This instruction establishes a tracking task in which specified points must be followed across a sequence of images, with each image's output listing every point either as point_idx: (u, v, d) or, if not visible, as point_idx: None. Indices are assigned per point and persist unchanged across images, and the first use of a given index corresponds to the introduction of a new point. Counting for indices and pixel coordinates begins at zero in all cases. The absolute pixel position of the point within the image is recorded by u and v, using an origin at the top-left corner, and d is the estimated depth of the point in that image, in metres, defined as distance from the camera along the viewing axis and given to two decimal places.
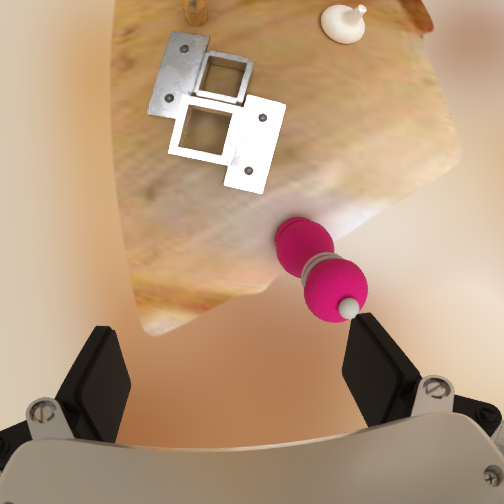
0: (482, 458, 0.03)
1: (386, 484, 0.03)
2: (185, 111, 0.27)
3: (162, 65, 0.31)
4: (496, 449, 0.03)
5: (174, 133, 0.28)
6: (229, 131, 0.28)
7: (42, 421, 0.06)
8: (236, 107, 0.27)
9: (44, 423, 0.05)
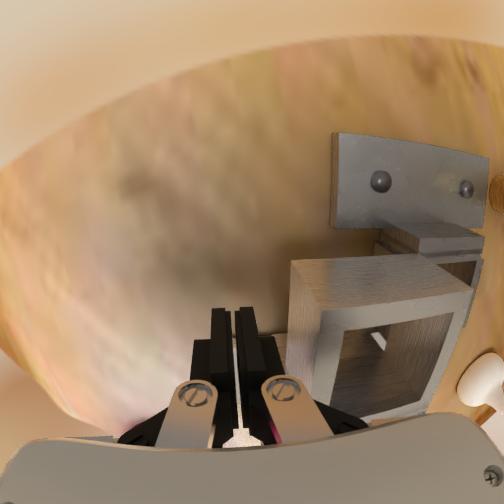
0: (482, 458, 0.03)
1: (386, 484, 0.03)
2: (438, 312, 0.09)
3: (439, 150, 0.14)
4: (496, 449, 0.03)
5: (385, 307, 0.08)
6: (382, 413, 0.10)
7: (189, 402, 0.07)
8: (429, 399, 0.10)
9: (189, 406, 0.07)
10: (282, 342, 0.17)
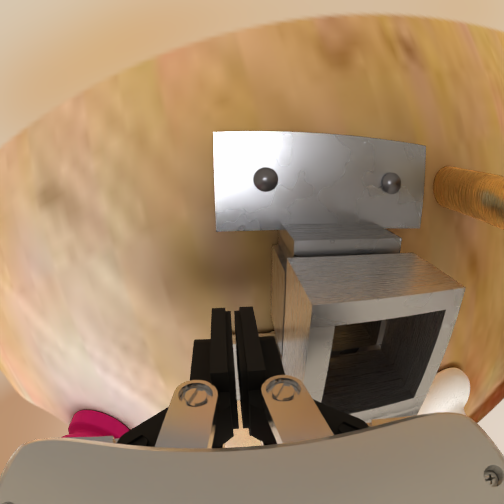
0: (482, 458, 0.03)
1: (386, 484, 0.03)
2: (430, 309, 0.09)
3: (347, 139, 0.14)
4: (496, 449, 0.03)
5: (375, 303, 0.09)
6: (376, 409, 0.10)
7: (190, 402, 0.07)
8: (423, 396, 0.11)
9: (189, 406, 0.07)
10: None
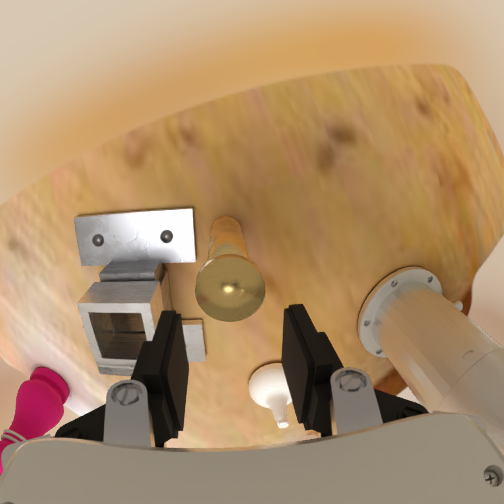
0: (482, 458, 0.03)
1: (386, 484, 0.03)
2: (130, 311, 0.21)
3: (136, 214, 0.26)
4: (496, 449, 0.03)
5: (100, 305, 0.20)
6: (130, 361, 0.22)
7: (123, 402, 0.07)
8: None
9: (124, 405, 0.07)
10: None
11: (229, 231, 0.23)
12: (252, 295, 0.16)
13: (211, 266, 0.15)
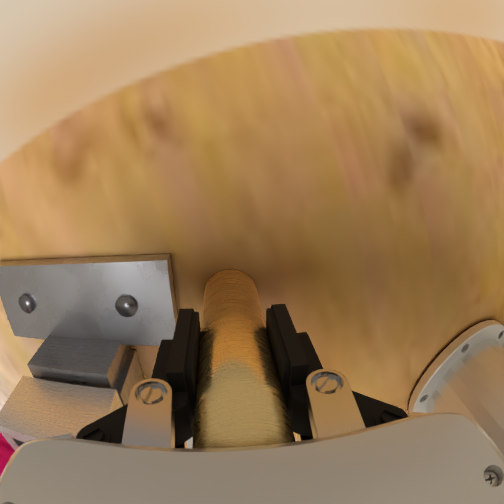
0: (482, 458, 0.03)
1: (386, 484, 0.03)
2: None
3: (74, 268, 0.14)
4: (496, 449, 0.03)
5: (23, 435, 0.08)
6: None
7: (146, 401, 0.07)
8: None
9: (146, 404, 0.07)
10: None
11: (239, 327, 0.10)
12: None
13: None
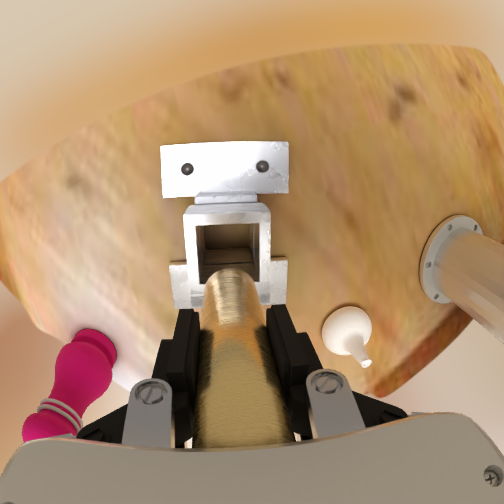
0: (482, 458, 0.03)
1: (386, 484, 0.03)
2: (247, 221, 0.21)
3: (233, 144, 0.26)
4: (496, 449, 0.03)
5: (212, 216, 0.21)
6: None
7: (146, 401, 0.07)
8: (268, 283, 0.23)
9: (146, 404, 0.07)
10: None
11: (239, 325, 0.10)
12: None
13: None
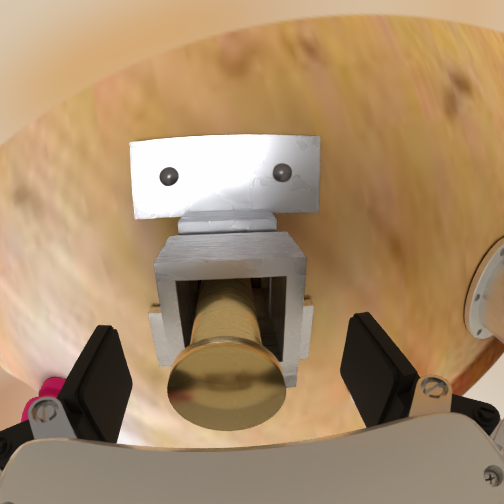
0: (482, 458, 0.03)
1: (386, 484, 0.03)
2: (266, 274, 0.12)
3: (237, 138, 0.17)
4: (496, 449, 0.03)
5: (205, 264, 0.12)
6: None
7: (44, 421, 0.06)
8: (295, 363, 0.14)
9: (46, 422, 0.05)
10: None
11: None
12: (264, 400, 0.09)
13: (191, 362, 0.08)
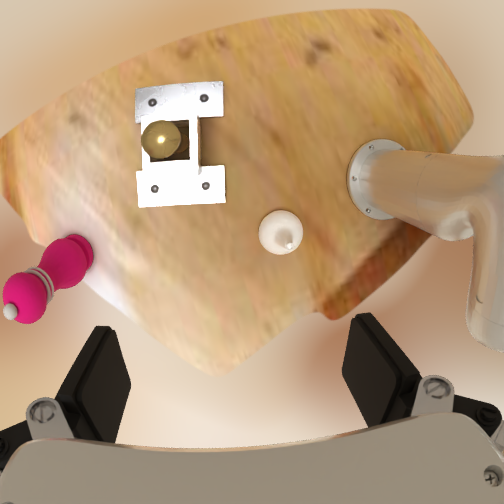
0: (482, 458, 0.03)
1: (386, 484, 0.03)
2: (181, 118, 0.29)
3: (183, 84, 0.34)
4: (496, 449, 0.03)
5: (159, 116, 0.29)
6: (172, 162, 0.31)
7: (42, 421, 0.06)
8: (196, 161, 0.31)
9: (44, 423, 0.05)
10: None
11: None
12: (172, 140, 0.26)
13: (150, 124, 0.25)
